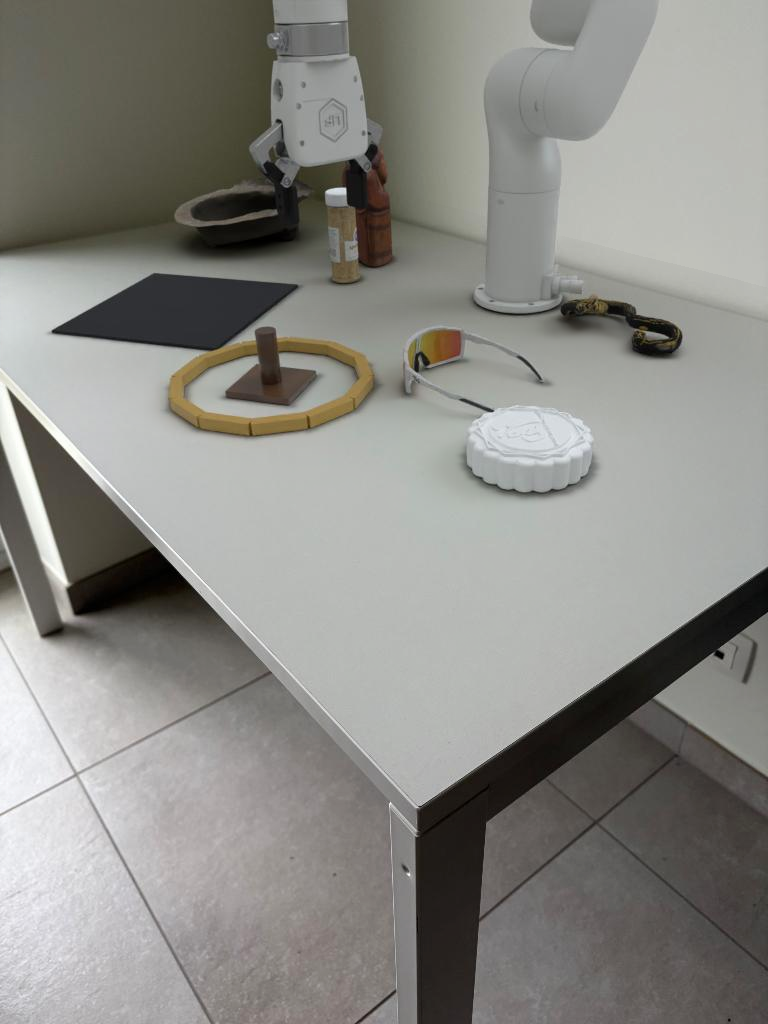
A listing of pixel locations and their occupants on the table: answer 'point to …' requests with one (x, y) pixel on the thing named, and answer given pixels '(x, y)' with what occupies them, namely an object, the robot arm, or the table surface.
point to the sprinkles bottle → (342, 236)
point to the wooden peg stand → (270, 375)
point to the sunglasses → (446, 357)
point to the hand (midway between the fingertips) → (324, 214)
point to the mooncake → (529, 448)
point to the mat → (179, 311)
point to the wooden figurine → (374, 216)
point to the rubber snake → (630, 323)
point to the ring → (279, 421)
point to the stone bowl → (240, 212)
